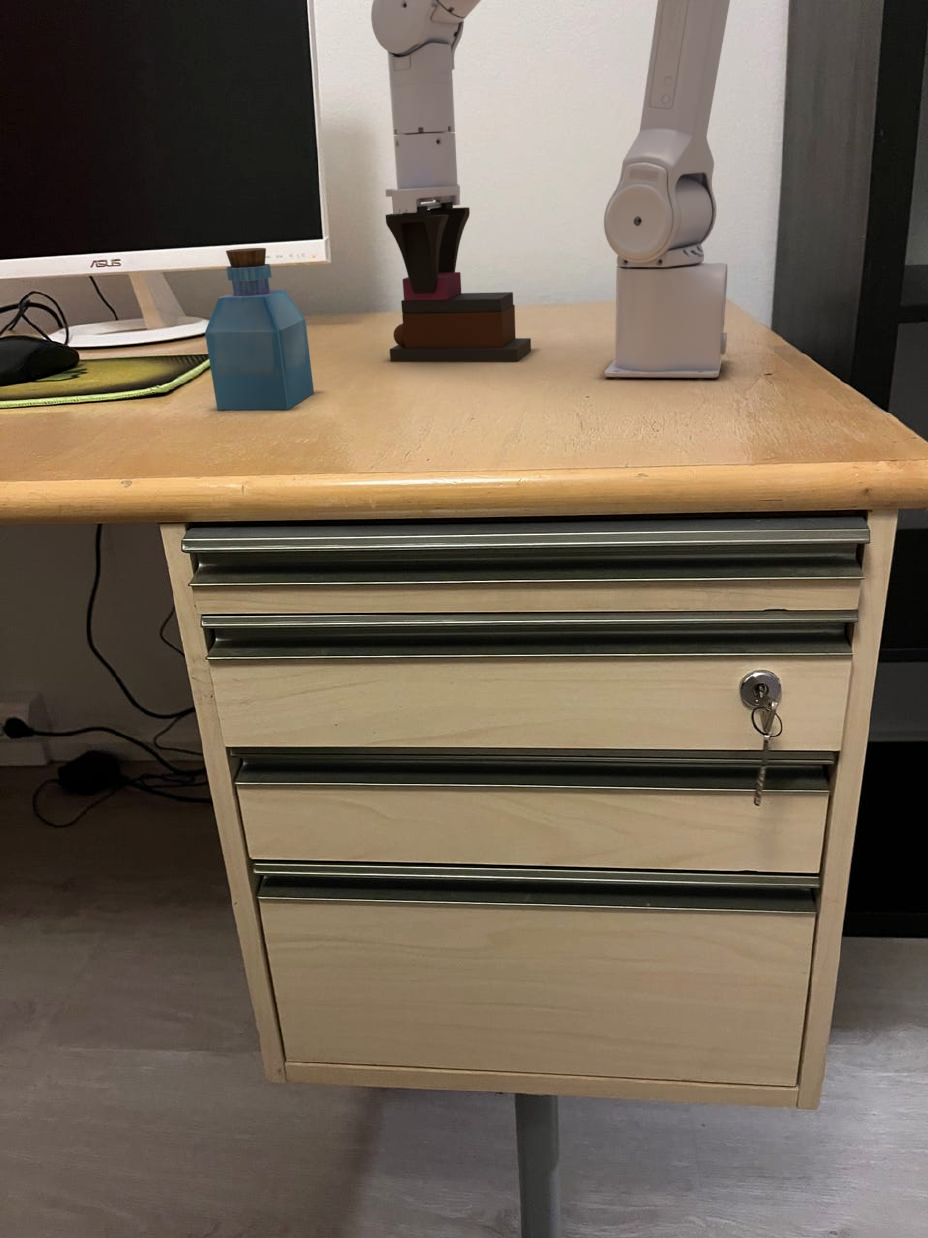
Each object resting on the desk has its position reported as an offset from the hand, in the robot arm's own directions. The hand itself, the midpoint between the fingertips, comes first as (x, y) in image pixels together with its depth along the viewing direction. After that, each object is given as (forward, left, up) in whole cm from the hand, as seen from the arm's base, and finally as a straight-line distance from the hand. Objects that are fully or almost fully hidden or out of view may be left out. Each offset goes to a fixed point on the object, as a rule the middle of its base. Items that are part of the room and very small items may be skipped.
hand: (433, 289), depth 94 cm
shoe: (-3, 0, -6) cm, 7 cm away
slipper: (-2, 0, -2) cm, 3 cm away
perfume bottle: (+8, +21, -6) cm, 24 cm away
